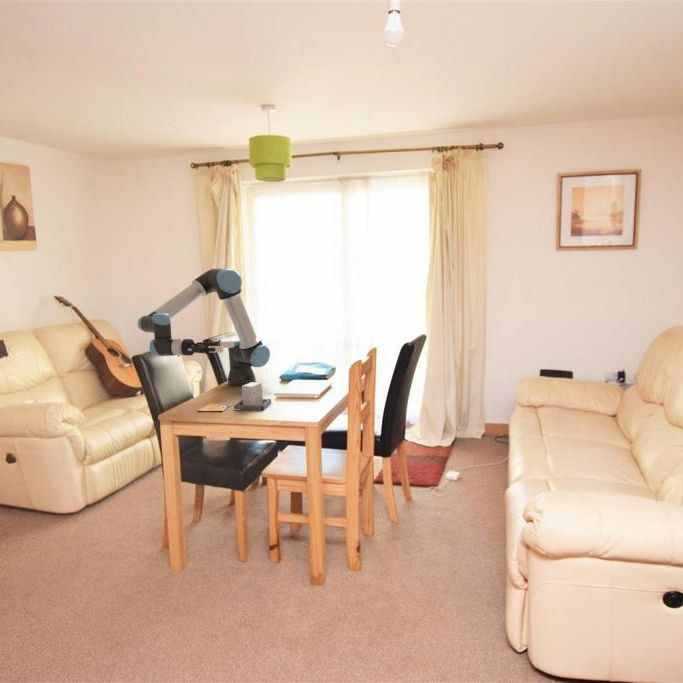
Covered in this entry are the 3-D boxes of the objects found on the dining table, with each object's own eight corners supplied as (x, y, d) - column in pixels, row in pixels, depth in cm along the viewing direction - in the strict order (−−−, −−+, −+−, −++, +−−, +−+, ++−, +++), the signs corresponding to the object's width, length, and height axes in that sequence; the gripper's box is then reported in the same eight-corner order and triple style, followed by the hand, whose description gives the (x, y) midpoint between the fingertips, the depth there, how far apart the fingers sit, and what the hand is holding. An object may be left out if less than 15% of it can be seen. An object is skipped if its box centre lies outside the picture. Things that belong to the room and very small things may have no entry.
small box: (253, 404, 265) (251, 381, 264) (263, 405, 263) (261, 382, 261) (242, 408, 258) (241, 385, 257) (252, 409, 256) (251, 386, 254)
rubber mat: (207, 404, 267) (207, 403, 267) (232, 404, 265) (232, 403, 265) (197, 411, 256) (197, 410, 256) (222, 412, 254) (222, 410, 254)
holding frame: (243, 403, 268) (243, 398, 267) (271, 403, 266) (271, 399, 265) (234, 410, 256) (234, 406, 255) (263, 410, 253) (263, 406, 253)
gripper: (195, 350, 274) (238, 350, 271) (172, 360, 250) (218, 360, 246) (194, 335, 273) (237, 334, 269) (170, 343, 249) (217, 342, 245)
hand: (228, 346), depth 258 cm, fingers open, 13 cm apart
